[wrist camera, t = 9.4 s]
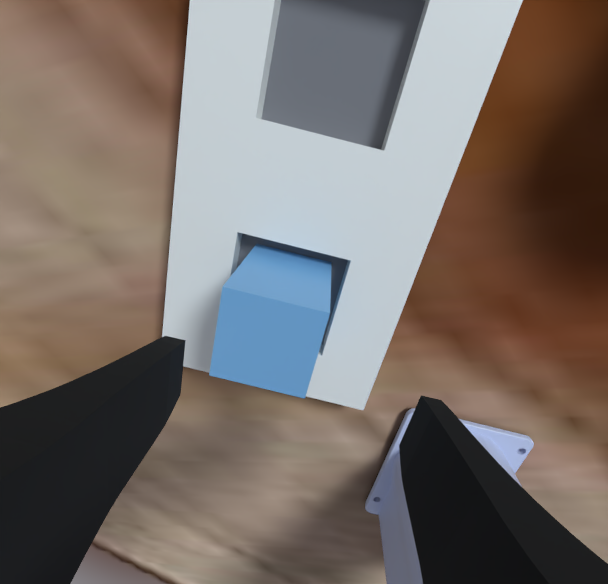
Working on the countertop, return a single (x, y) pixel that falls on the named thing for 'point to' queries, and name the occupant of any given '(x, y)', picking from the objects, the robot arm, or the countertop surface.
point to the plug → (272, 320)
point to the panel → (323, 156)
